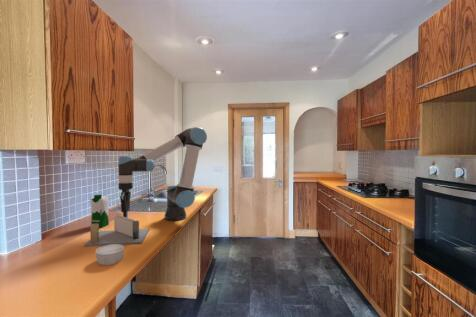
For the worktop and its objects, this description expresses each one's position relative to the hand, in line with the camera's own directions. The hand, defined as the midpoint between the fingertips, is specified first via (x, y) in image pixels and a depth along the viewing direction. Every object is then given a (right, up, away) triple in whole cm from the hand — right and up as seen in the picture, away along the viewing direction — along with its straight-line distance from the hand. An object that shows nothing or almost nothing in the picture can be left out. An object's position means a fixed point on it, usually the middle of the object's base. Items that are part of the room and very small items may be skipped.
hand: (125, 222), depth 143 cm
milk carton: (-21, -5, +11) cm, 24 cm away
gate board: (+1, -6, -10) cm, 11 cm away
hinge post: (+11, -6, -13) cm, 18 cm away
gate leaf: (+2, -4, -7) cm, 8 cm away
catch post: (-7, -6, -19) cm, 21 cm away
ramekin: (+11, -7, -38) cm, 40 cm away
